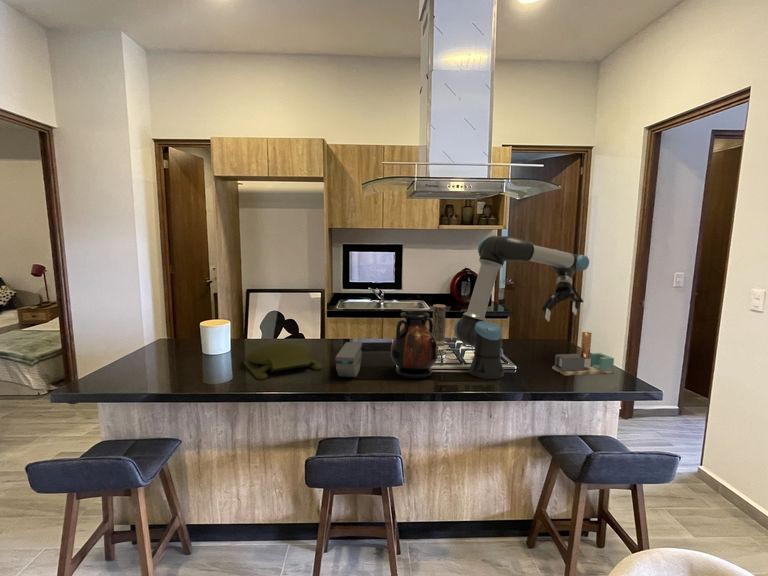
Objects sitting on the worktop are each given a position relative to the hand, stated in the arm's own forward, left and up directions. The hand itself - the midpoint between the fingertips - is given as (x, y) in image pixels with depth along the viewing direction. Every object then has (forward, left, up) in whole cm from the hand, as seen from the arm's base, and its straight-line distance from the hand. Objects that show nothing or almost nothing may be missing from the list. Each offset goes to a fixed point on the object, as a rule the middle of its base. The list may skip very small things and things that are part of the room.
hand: (560, 316), depth 198 cm
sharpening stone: (-102, +4, -25) cm, 105 cm away
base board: (+8, -8, -25) cm, 27 cm away
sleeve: (+1, -8, -23) cm, 25 cm away
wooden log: (-50, +36, -25) cm, 66 cm away
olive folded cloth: (-133, +20, -25) cm, 137 cm away
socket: (+17, -8, -23) cm, 30 cm away
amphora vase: (-73, -1, -25) cm, 77 cm away
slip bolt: (+4, -8, -22) cm, 24 cm away
